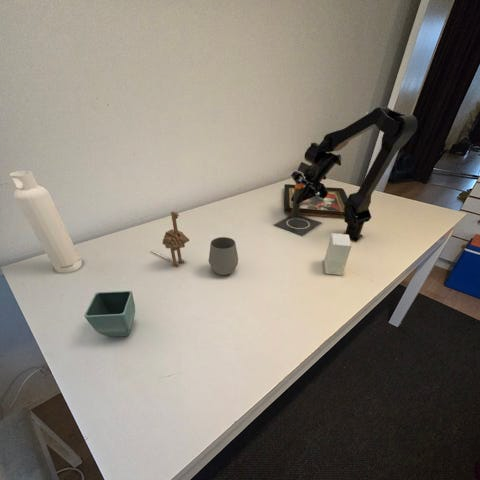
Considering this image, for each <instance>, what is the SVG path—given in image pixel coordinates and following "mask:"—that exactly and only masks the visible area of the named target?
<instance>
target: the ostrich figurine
mask: <svg viewBox="0 0 480 480" xmlns="http://www.w3.org/2000/svg"><path fill="white" fill-rule="evenodd" d="M170 216H171V221H172V228H171V229H170V230H168V231H167V230H166V231H165V234H164V235H163V239H162V245H164V247H165V249H170V254H171V255H170V256H171V259H172V265H173V266H175V267H177V268H178V267H179V263H180V264H185V261H184V260H183V258H182V252H181V249H183V248H185V247H186V245H185V244H186V243H189V242H190V238H189V237H188V236H186V235H185V234H184V232H183V231H181V230H179V229H178V225H177V223H178V222H177V219H178V218H179V217H180V214H179V213H178V212H176V211H170ZM151 252H152V253H155V254H157V255H158V256H160V257H162V258H164V259H166V260H168V261H169V260H170V259H169V256H168V257H167V256H166V255H164V254H161V253H160V252H157V251H156V250H151ZM175 252H176V253H175ZM176 255H177V257H176ZM177 259H178V262H177Z"/></svg>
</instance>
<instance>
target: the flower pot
mask: <svg viewBox="0 0 480 480" xmlns="http://www.w3.org/2000/svg"><path fill="white" fill-rule="evenodd" d="M135 316H136V304H135V298H134V295H133V291H132V290H119V291H98V292H95V293H94V295H93V297H92V299H91V301H90V303H89V305H88V306H87V309H86V311H85V313H84V315H83V317H84V318H85V320H86V321H87V322H88V323H89V324H90V326H91V327H92V328H93V329H94V330H95V331H96V332H97V333H98V334H101V335H102V336H105V337H107V338H108V337H109V338H112V337H113V338H114V337H128V336H130V334H131V331H132V328H133V327H132V326H133V324H134V320H135Z"/></svg>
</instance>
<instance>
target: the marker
mask: <svg viewBox="0 0 480 480" xmlns="http://www.w3.org/2000/svg"><path fill="white" fill-rule="evenodd" d="M294 185H295V191H294V199H293V207H292V214H291V213H290V216H291V218H293V219H297V218H298V216H299V215H300V214H299V209H300V203H299V204H296V201H297V199H298V198H299V197H300V195H301V194H302V189H303V184H299V183H298V184H296V183H295V184H294Z"/></svg>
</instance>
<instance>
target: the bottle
mask: <svg viewBox="0 0 480 480" xmlns="http://www.w3.org/2000/svg"><path fill="white" fill-rule="evenodd" d="M9 176H10V178H11V179H12V181H13V183H14V185H15V187H16V189H15V190H14V193H13V198H14V200H15V202H16V204H17V205H18V207H19V209H20V210H21V212H22V214H23V216H24V218H25V219H26V221H27V222H28V224H29V226H30V228H31V230H32V231H33V233H34V235H35V237H36V238H37V240H38V242H39V244H40V245H41V247H42V249H43V250H44V252H45V254H46V256H47V258H48V259H49V261H50V263H51V264H52V266H53V268H54V270H55V271H56V272H57V273H59V274H60V273H61V274H68V273H72V272H75V271H77V270H78V269H80V268H81V267H82V266H83V261H82V260H81V257H80V255H79V253H78V251H77V249H76V247H75V244H74V243H73V240H72V238H71V236H70V234H69V232H68V230H67V227H66V226H65V224H64V221H63V220H62V217H61V215H60V213H59V210H58V209H57V207H56V205H55V203H54V201H53V198H52V196H51V194H50V192H49V191H48V189H47V188H45V187H44V186H42V185H39V184H38V183H37V180H36V179H35V177H34V174H33V173H32V171H31V170H25V169H24V170H16V171H13V172H11V173H9Z"/></svg>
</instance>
